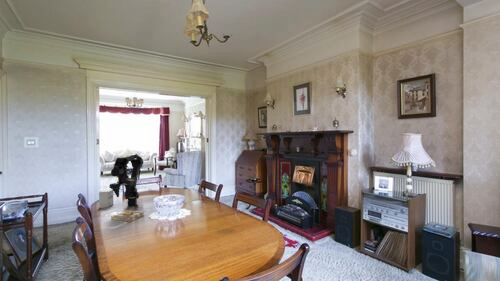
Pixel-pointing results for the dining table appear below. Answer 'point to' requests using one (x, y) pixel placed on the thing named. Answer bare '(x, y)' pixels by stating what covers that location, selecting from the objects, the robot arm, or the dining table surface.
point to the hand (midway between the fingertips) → (122, 195)
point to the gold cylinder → (127, 212)
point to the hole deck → (129, 218)
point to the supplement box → (105, 198)
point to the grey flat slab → (113, 214)
